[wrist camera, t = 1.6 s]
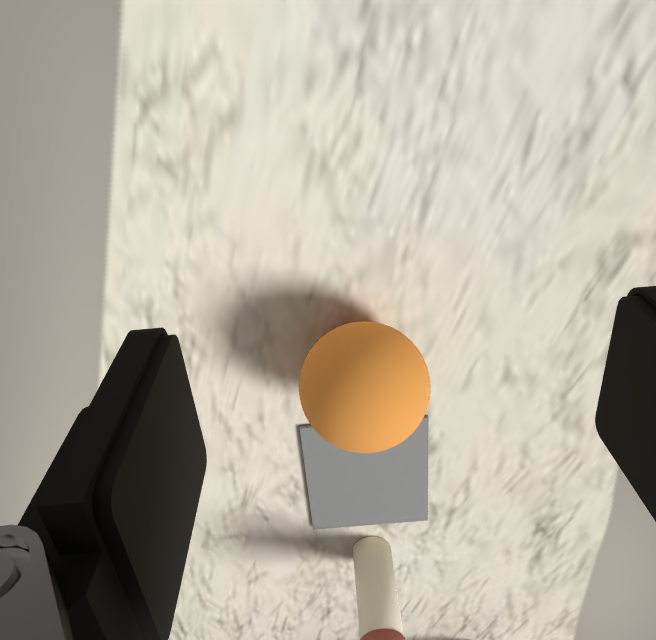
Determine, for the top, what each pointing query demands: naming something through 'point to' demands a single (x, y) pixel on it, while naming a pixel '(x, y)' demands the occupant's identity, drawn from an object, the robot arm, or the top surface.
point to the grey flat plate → (366, 481)
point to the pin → (376, 591)
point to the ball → (364, 387)
